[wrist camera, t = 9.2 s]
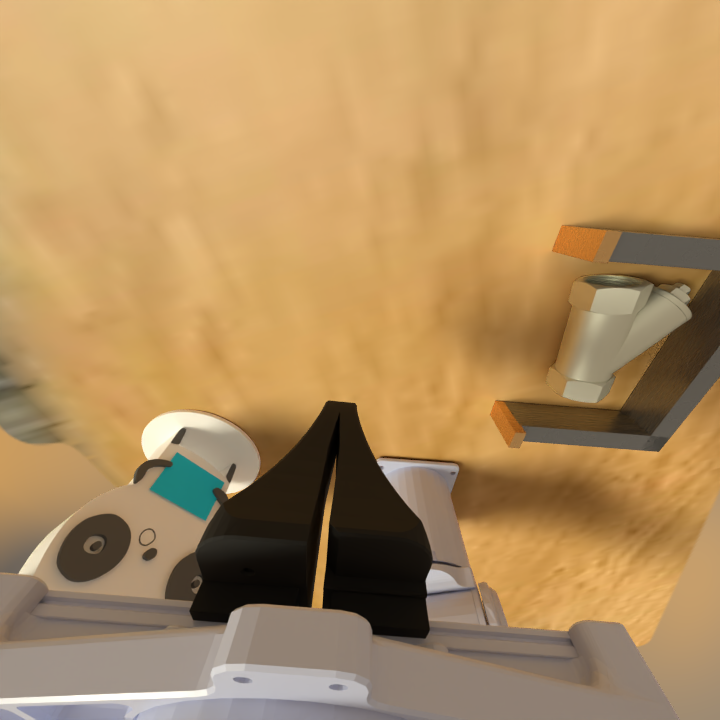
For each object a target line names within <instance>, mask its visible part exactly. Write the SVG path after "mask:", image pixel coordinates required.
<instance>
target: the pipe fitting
mask: <svg viewBox="0 0 720 720" xmlns="http://www.w3.org/2000/svg"><path fill="white" fill-rule="evenodd" d="M690 291H691V289H690V288H689V287H688V286H686V285H684V284H682V283H675V284H674V285H668V284H660V285H659V286H658V287H655V286H654V284H652V283H651V282H649V281H647V280H644V279H641V278H636V277H631V276H623V275H608V274H598V275H587V276H582V277H580V278H578V279H577V280H575V281H574V282H573V285H572V289H571V292H570V296H569V299H568V302H569V303H570V304H572V308H571V311H570V315H569V318H568V321H567V325H566V328H565V332H564V335H563V339H562V342H561V346H560V349H559V353H558V356H557V360H556V362H555V363H554V364H553V365H552V366H550V367H549V371H548V375H547V378H546V383H547V384H548V386H549V387H550V388H551V389H552V390H553V391H554V392H556V393H557V394H559V395H560V396H562V397H565V398H568V399H571V400H575V401H580V402H590V403H597V402H599V401H600V400H602V399H603V398H604V397H605V396H606V395H607V394H608V393H609V392H610V389H611V387H612V384H613V382H614V380H615V376H614V375H613V373H614V372H615V371H617V370H618V369H620V368H621V367H622V366H624V365H625V364H627V363H628V362H630V361H631V360H633V359H634V358H635V357H637V356H638V355H640V354H641V353H643V352H644V351H645V350H647V349H648V348H650V347H651V346H652V345H654V344H655V343H657V342H658V341H660V340H661V339H662V338H664V337H665V336H667V335H668V334H669V333H671V332H672V331H674V330H675V329H676V328H678V327H679V326H681V325H682V324H684V323H685V322H687V321H688V320H689V319H691V317H692V313H691V311H690V309H689V308H688V306H687V304H688V303H689V301H690V298H689V296H688V295H687V294H689V293H690Z"/></svg>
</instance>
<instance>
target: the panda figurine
mask: <svg viewBox="0 0 720 720" xmlns="http://www.w3.org/2000/svg"><path fill="white" fill-rule="evenodd" d="M142 448H143V451H144V453H145V456H146V457H147V459H148V461H146V462H144V463H143V464H142V465H140V466H139V467H138V468H137V470H136V471H135V474H134V478H133V479H132V481H131V482H130V483H129V484H128V485H125V486H121V487H117V488H114V489H112V490H109V491H107V492H105V493H103V494H101V495H99V496H97V497H96V498H94V499H92V500H91V501H89V502H88V503H86V504H85V505H84V506H82V507H81V508H80V509H79V510H78V511H76V512H75V513H74V514H73V515H71V516H70V517H69V518H68V519H66V520H65V521H64V522H63V523H61V524H60V525H59V526H58V527H56V528H55V529H54V530H53V531H52V532H50V533H49V534H48V535H47V536H46V537H45V538H44V540H43V541H42V542H41V543H40V544H39V545H38V546H37V548H36V549H35V550H34V551H33V553H32V554H31V555H30V557H29V558H28V560H27V561H26V563H25V564H24V566H23V568H22V569H21V570H20V572H19V574H25V575H31V576H35V577H38V578H40V579H41V580H43V581H44V582H45V583H46V585H47V586H48V589H49V590H58V591H70V592H82V593H95V594H107V595H120V596H132V597H145V598H157V599H169V600H182V601H194V599H195V596H196V594H197V592H198V590H199V587H200V585H201V583H202V581H203V577H202V574H201V571H200V568H199V565H198V563H197V560H196V555H195V550H196V548H197V546H198V544H199V542H200V540H201V538H202V536H203V534H204V532H205V530H206V528H207V526H208V524H209V522H210V521H211V519H212V518H213V516H214V515H215V513H216V512H217V510H218V509H219V507H220V506H221V505H222V503H224V502H225V501H227V500H228V497H227V495H226V494H229V493H234V492H237V491H240V490H242V489H244V488H246V487H248V486H249V485H250V484H251V483H252V482H253V481H254V480H255V478H256V477H257V475H258V472H259V469H260V455H259V452H258V450H257V447H256V446H255V444H254V442H253V441H252V440H251V439H250V437H249V436H248V435H247V434H246V433H245V432H244V431H243V430H241V429H240V428H239V427H237V426H236V425H234V424H233V423H231V422H230V421H228V420H226V419H224V418H221V417H219V416H217V415H214V414H211V413H207V412H203V411H198V410H174V411H169V412H166V413H163V414H161V415H159V416H157V417H156V418H154V419H153V420H152V421H151V422H150V423H149V424H148V425H147V426H146V428H145V429H144V432H143V435H142Z"/></svg>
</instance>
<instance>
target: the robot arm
mask: <svg viewBox="0 0 720 720" xmlns="http://www.w3.org/2000/svg"><path fill="white" fill-rule="evenodd" d="M335 459H336V481H335V488H334V495H333V502H332V509H331V515H330V522H329V535H328V549H327V562H326V571H325V579H324V588H323V590H324V592H323V607H322V609H320V608H311V607H312V599H313V591H314V583H315V576H316V568H317V560H318V553H319V545H320V538H321V530H322V523H323V516H324V509H325V503H326V498H327V494H328V489H329V485H330V481H331V476H332V472H333V467H334V463H335ZM458 472H459V466H458V465H457V464H455V463H444V462H431V461H418V460H405V459H392V458H379V459H377V461H376V459H375V457H374V455H373V453H372V451H371V449H370V447H369V445H368V443H367V440H366V438H365V435H364V433H363V430H362V427H361V424H360V421H359V417H358V413H357V405H356V404H355V403H348V402H337V401H327V402H326V403H325V406H324V407H323V409H322V411H321V413H320V414H319V416H318V417H317V419H316V420H315V422H314V423H313V425H312V426H311V427H310V429H309V430H308V431H307V433H306V434H305V435H304V436H303V437H302V439H301V440H300V441H299V442H298V443H297V444H296V446H295V447H294V448H293V449H292V450H291V451H290V452H289V453H288V454H287V455H286V456H285V457H284V458H283V459H282V460H281V461H279V462H278V463H277V464H276V465H275V466H274V467H273V468H272V469H270V470H269V471H268V472H267V473H266V474H264V475H263V476H262V477H260V478H259V479H258V480H256V481H255V482H254V483H252V484H251V485H250V486H248V487H247V488H246V489H244V490H242V491H241V492H239V493H238V494H236V495H235V496H233V497H232V498H230V499H229V500H227V501H225V502H224V503H222V505H221V506H220V507H219V509H218V510H217V512H216V513H215V515H214V516H213V518H212V519H211V521H210V522H209V524H208V526H207V528H206V530H205V532H204V534H203V536H202V538H201V540H200V542H199V544H198V546H197V548H196V550H195V555H196V560H197V563H198V565H199V568H200V571H201V574H202V577H203V581H202V583H201V585H200V587H199V590H198V592H197V594H196V596H195V599H194V601H182V600H169V599H157V598H145V597H132V596H120V595H107V594H95V593H82V592H70V591H58V590H49V589H48V586H47V585H46V583H45V582H44V581H43V580H41V579H40V578H38V577H35V576H31V575H25V574H12V573H0V720H680V719H679V717H678V716H677V714H676V712H675V711H674V709H673V707H672V706H671V704H670V702H669V701H668V699H667V697H666V696H665V694H664V692H663V691H662V689H661V687H660V686H659V684H658V682H657V681H656V679H655V677H654V676H653V674H652V672H651V671H650V669H649V667H648V666H647V664H646V662H645V661H644V659H643V657H642V656H641V654H640V652H639V651H638V649H637V647H636V646H635V644H634V642H633V641H632V639H631V637H630V636H629V634H628V632H627V631H626V629H625V627H624V626H623V625H622V624H620V623H615V622H603V621H591V620H585V621H579V622H576V623H575V624H573V625H572V626H571V627H570V629H569V631H555V630H543V629H530V628H518V627H508V624H507V621H506V618H505V615H504V612H503V609H502V606H501V603H500V600H499V598H498V595H497V593H496V591H495V590H493V589H492V588H491V587H488V584H487V583H486V582H482V583H478V585H479V589H480V592H481V596H482V601H481V598H480V594H479V591H478V588H477V585H476V582H475V579H474V576H473V572H472V569H471V568H470V564H469V560H468V557H467V553H466V549H465V546H464V542H463V539H462V535H461V531H460V528H459V524H458V521H457V517H456V513H455V510H454V506H453V502H452V499H451V495H450V494H451V492H452V489H453V486H454V483H455V480H456V477H457V475H458ZM482 603H483V605H482ZM483 606H484V609H483ZM484 610H485V612H484ZM485 614H486V616H485ZM486 617H487V619H486ZM487 621H488V622H487Z"/></svg>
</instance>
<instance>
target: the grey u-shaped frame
mask: <svg viewBox="0 0 720 720" xmlns="http://www.w3.org/2000/svg"><path fill="white" fill-rule="evenodd" d="M552 251H553V252H557V253H561V254H565V255H568V256H572V257H576V258H580V259H584V260H588V261H591V262H601V263H608V261H610V262H622V263H634V264H646V265H658V266H670V267H683V268H695V269H707V270H712V272H711V273H710V275H709V276H708V278H707V279H706V281H705V282H704V284H703V285H702V287H701V289H700V290H699V292H698V293H697V295H696V296H695V298H694V299H693V301H692V302H691V304H690V305H689V307H688V308H689V309H690V311H691V313H692V317H691V319H689V320H688V321H687V322H685V323H684V324H682V325H681V326H679V327H678V328H676V329H675V330H674V331H672V333H671V334H670V336H669V337H668V339H667V340H666V342H665V343H664V345H663V346H662V348H661V349H660V351H659V353H658V354H657V356H656V357H655V359H654V360H653V362H652V363H651V365H650V366H649V368H648V369H647V371H646V372H645V374H644V375H643V377H642V378H641V380H640V381H639V383H638V385H637V386H636V388H635V389H634V391H633V392H632V394H631V395H630V397H629V398H628V400H627V401H626V403H625V404H624V406H623V407H622V409H621V410H620V411H617V410H605V409H592V408H579V407H567V406H554V405H541V404H528V403H516V402H503V401H495V404H494V406H493V409H492V411H491V414H490V415H491V417H492V419H493V420H494V422H495V424H496V426H497V427H498V429H499V431H500V433H501V434H502V436H503V438H504V440H505V441H506V443H507V445H508V447H510V448H520V446H521V444H522V442H523V441H528V442H540V443H553V444H566V445H579V446H592V447H605V448H618V449H631V450H644V451H657V452H659V451H660V450H661V448H662V447H663V446H664V445H665V443H666V442H667V441H668V440H669V439H670V437H671V436H672V435H673V434H674V432H675V431H676V430H677V429H678V427H679V426H680V425H681V424H682V423H683V421H684V420H685V419H686V418H687V416H688V415H689V414H690V413H691V411H692V410H693V409H694V408H695V407H696V405H697V404H698V403H699V402H700V400H701V399H702V398H703V397H704V395H705V394H706V393H707V392H708V390H709V389H710V388H711V387H712V386H713V384H714V383H715V382H716V381H717V379H718V378H719V377H720V239H716V238H704V237H692V236H680V235H668V234H656V233H644V232H632V231H621V230H609V229H597V228H585V227H573V226H561V229H560V232H559V234H558V237H557V240H556V242H555V245H554V248H553V250H552Z"/></svg>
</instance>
